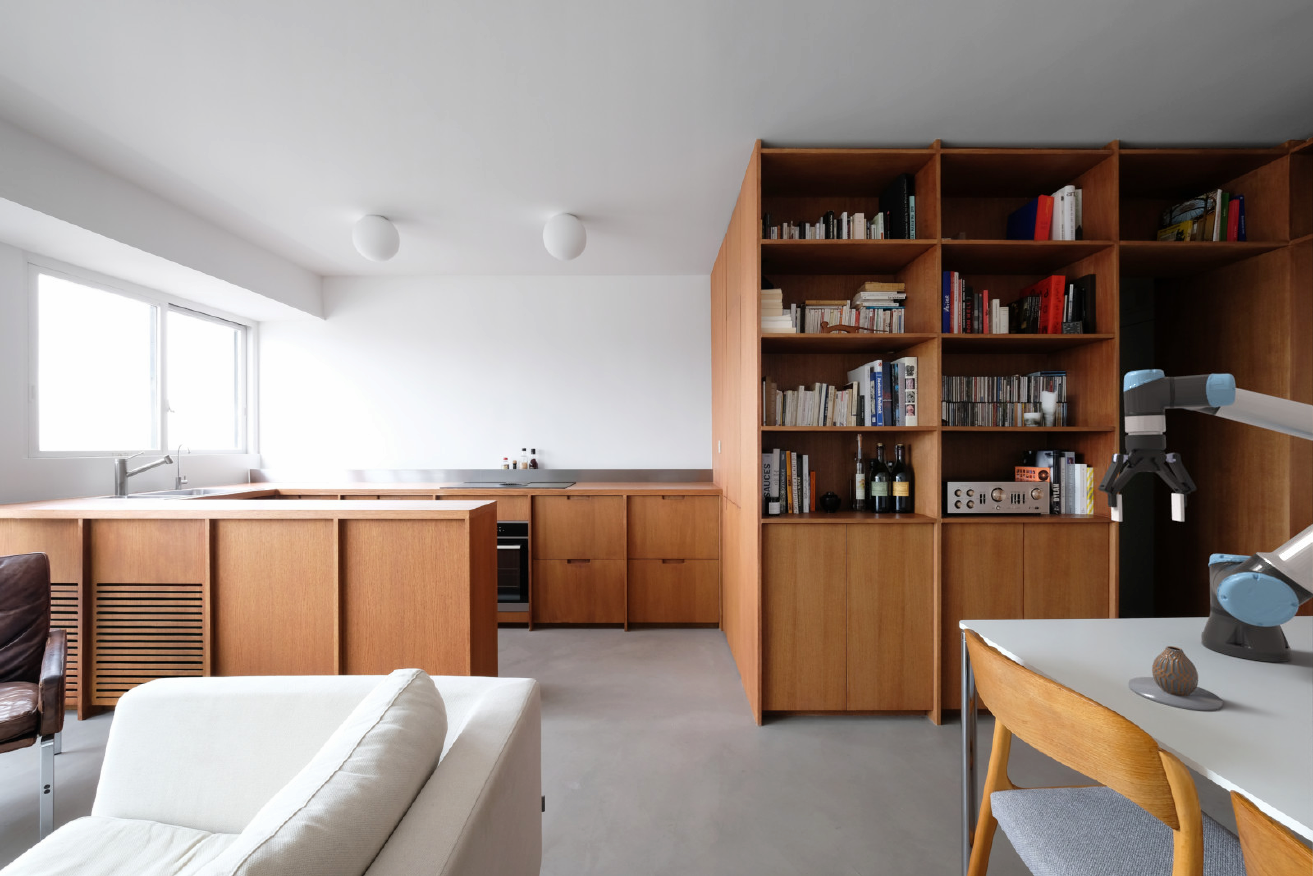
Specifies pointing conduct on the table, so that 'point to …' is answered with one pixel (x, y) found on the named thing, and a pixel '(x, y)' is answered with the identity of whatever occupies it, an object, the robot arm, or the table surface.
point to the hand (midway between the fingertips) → (1147, 520)
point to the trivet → (1193, 701)
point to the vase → (1175, 672)
